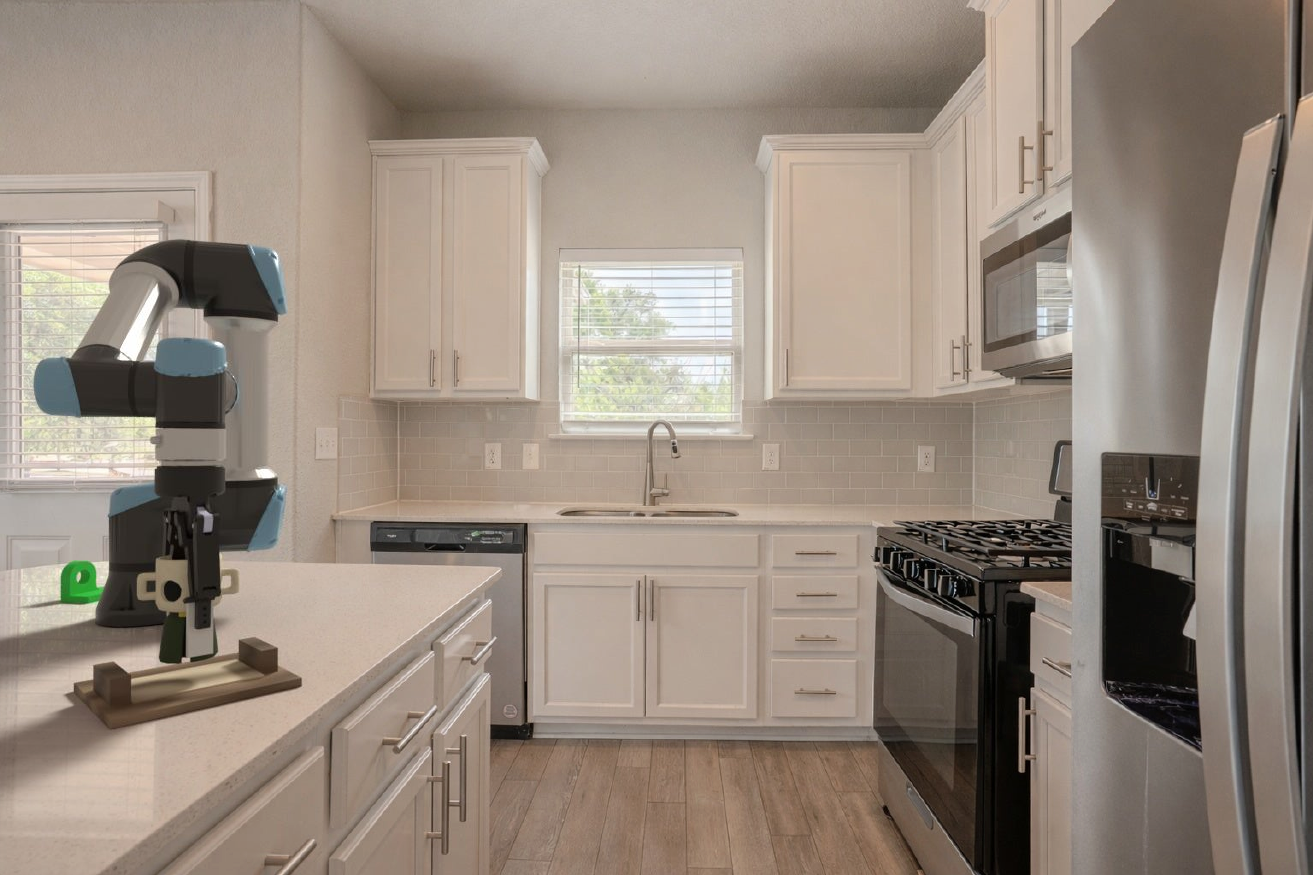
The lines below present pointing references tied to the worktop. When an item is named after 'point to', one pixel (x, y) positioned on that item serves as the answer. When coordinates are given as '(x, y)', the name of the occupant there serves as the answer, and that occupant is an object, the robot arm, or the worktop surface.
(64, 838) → the worktop surface
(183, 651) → the character mug
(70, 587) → the mechanical part
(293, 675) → the seating jig
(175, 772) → the worktop surface
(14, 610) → the worktop surface
